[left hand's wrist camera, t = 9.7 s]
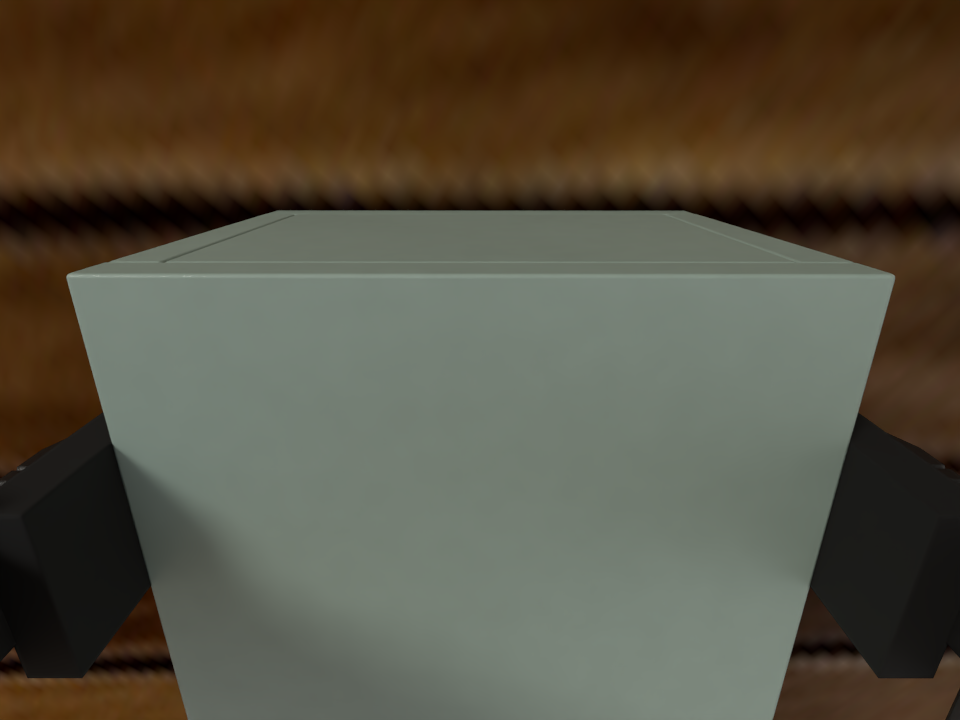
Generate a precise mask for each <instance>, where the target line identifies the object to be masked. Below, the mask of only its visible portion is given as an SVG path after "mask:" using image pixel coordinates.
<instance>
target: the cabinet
mask: <svg viewBox="0 0 960 720" xmlns="http://www.w3.org/2000/svg"><path fill="white" fill-rule="evenodd" d="M894 281H895V276H894V275H893V274H891V273H887V272H884V271H881V270H878V269H874V268H871V267H868V266H864V265H861V264H858V263H853V262H851V261H848V260H845V259H842V258H838V257H835V256H832V255H828V254H825V253H822V252H819V251H815V250H812V249H809V248H805V247H802V246H799V245H796V244H792V243H789V242H786V241H782V240H779V239H776V238H773V237H769V236H766V235H763V234H759V233H756V232H753V231H750V230H746V229H743V228H740V227H736V226H733V225H730V224H727V223H723V222H720V221H717V220H713V219H710V218H707V217H704V216H700V215H697V214H693V213H689V212H686V211H274V212H271V213H268V214H264V215H261V216H258V217H254V218H251V219H248V220H244V221H241V222H238V223H235V224H231V225H228V226H225V227H221V228H218V229H215V230H212V231H208V232H205V233H202V234H198V235H195V236H192V237H189V238H185V239H182V240H179V241H175V242H172V243H169V244H166V245H162V246H159V247H156V248H152V249H149V250H146V251H143V252H139V253H136V254H133V255H129V256H126V257H123V258H120V259H116V260H113V261H111V262H109V263H102V264H99V265H95V266H92V267H89V268H85V269H82V270H79V271H76V272H72V273H70V274H68V275H67V282H68V285H69V289H70V293H71V296H72V300H73V303H74V307H75V311H76V314H77V318H78V322H79V325H80V329H81V332H82V336H83V340H84V343H85V347H86V351H87V354H88V358H89V362H90V365H91V369H92V372H93V376H94V380H95V383H96V387H97V391H98V394H99V398H100V401H101V405H102V409H103V412H104V416H105V420H106V423H107V427H108V431H109V434H110V438H111V441H112V445H113V449H114V452H115V456H116V460H117V463H118V467H119V470H120V474H121V478H122V481H123V485H124V489H125V492H126V496H127V500H128V503H129V507H130V510H131V514H132V518H133V521H134V525H135V529H136V532H137V536H138V539H139V543H140V547H141V550H142V554H143V558H144V561H145V565H146V569H147V572H148V576H149V579H150V583H151V587H152V590H153V594H154V598H155V601H156V605H157V608H158V612H159V616H160V619H161V623H162V627H163V630H164V634H165V638H166V641H167V645H168V648H169V652H170V656H171V659H172V663H173V667H174V670H175V674H176V677H177V681H178V685H179V688H180V692H181V696H182V699H183V703H184V706H185V710H186V714H187V717H188V720H773V717H774V713H775V710H776V706H777V702H778V699H779V695H780V692H781V688H782V684H783V681H784V677H785V674H786V670H787V666H788V663H789V659H790V656H791V652H792V648H793V645H794V641H795V638H796V634H797V630H798V627H799V623H800V620H801V616H802V612H803V609H804V605H805V602H806V598H807V594H808V591H809V587H810V584H811V580H812V576H813V573H814V569H815V566H816V562H817V558H818V555H819V551H820V548H821V544H822V540H823V537H824V533H825V530H826V526H827V522H828V519H829V515H830V512H831V508H832V504H833V501H834V497H835V493H836V490H837V486H838V483H839V479H840V475H841V472H842V468H843V465H844V461H845V457H846V454H847V450H848V447H849V443H850V439H851V436H852V432H853V429H854V425H855V421H856V418H857V414H858V411H859V407H860V403H861V400H862V396H863V393H864V389H865V385H866V382H867V378H868V375H869V371H870V367H871V364H872V360H873V357H874V353H875V349H876V346H877V342H878V339H879V335H880V331H881V328H882V324H883V321H884V317H885V313H886V310H887V306H888V303H889V299H890V295H891V292H892V288H893V285H894Z"/></svg>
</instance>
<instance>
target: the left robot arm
mask: <svg viewBox="0 0 960 720" xmlns="http://www.w3.org/2000/svg"><path fill="white" fill-rule="evenodd" d="M150 586H151V583H150V579H149V576H148V572H147V569H146V565H145V561H144V558H143V554H142V550H141V547H140V543H139V539H138V536H137V532H136V529H135V525H134V521H133V518H132V514H131V510H130V507H129V503H128V500H127V496H126V492H125V489H124V485H123V481H122V478H121V474H120V470H119V467H118V463H117V460H116V456H115V452H114V449H113V445H112V441H111V438H110V434H109V431H108V427H107V423H106V420H105V416H104V412H103V413H101V414H100V415H99V416H97V417H96V418H94V419H93V420H92V421H90V422H89V423H87V424H86V425H85V426H83V427H82V428H80V429H79V430H78V431H76V432H75V433H73V434H72V435H71V436H69V437H68V438H67V439H64V440H62V441H60V442H58V443H56V444H53V445H51V446H49V447H47V448H45V449H42V450H41V451H39V452H38V453H37V454H35V455H34V456H32V457H31V458H29V459H28V460H27V461H25V462H24V463H22V464H21V465H19V466H18V467H17V471H11V472H9V473H8V474H7V475H5V476H4V477H2V478H1V479H0V661H1V660H2V659H3V658H4V657H5V656H6V655H7V654H8V653H9V652H10V651H11V649H12V648H13V647H15V650H16V652H17V654H18V657H19V659H20V661H21V664H22V666H23V668H24V671H25V673H26V675H27V678H83V676H84V675H85V674H86V672H87V671H88V670H89V668H90V667H91V666H92V664H93V663H94V661H95V660H96V659H97V657H98V656H99V655H100V653H101V652H102V651H103V649H104V648H105V647H106V645H107V644H108V643H109V641H110V640H111V639H112V637H113V636H114V635H115V633H116V632H117V631H118V629H119V628H120V626H121V625H122V624H123V622H124V621H125V620H126V618H127V617H128V616H129V614H130V613H131V612H132V610H133V609H134V608H135V606H136V605H137V604H138V602H139V601H140V600H141V598H142V597H143V595H144V594H145V593H146V591H147V590H148V589H149V587H150ZM810 587H811V588H812V589H813V591H814V592H815V593H816V595H817V596H818V597H819V599H820V600H821V601H822V603H823V604H824V605H825V607H826V608H827V609H828V611H829V612H830V613H831V615H832V616H833V618H834V619H835V620H836V622H837V623H838V624H839V626H840V627H841V628H842V630H843V631H844V632H845V634H846V635H847V636H848V638H849V639H850V640H851V642H852V643H853V644H854V646H855V647H856V648H857V650H858V651H859V653H860V654H861V655H862V657H863V658H864V659H865V661H866V662H867V663H868V665H869V666H870V667H871V669H872V670H873V671H874V673H875V674H876V675H877V677H878V678H934V675H935V673H936V671H937V668H938V666H939V664H940V661H941V659H942V657H943V654H944V652H945V649H946V647H947V645H949V647H950V648H951V649H952V650H953V651H954V652H955V653H956V654H957V655H958V656H959V657H960V476H959V475H958V474H957V473H955V472H954V471H952V470H951V469H945V465H944V464H942V463H941V462H939V461H938V460H936V459H935V458H934V457H932V456H931V455H929V454H928V453H926V452H925V451H924V450H922V449H921V448H919V447H917V446H915V445H912V444H910V443H908V442H906V441H903V440H901V439H899V438H897V437H895V436H892V435H890V434H888V433H886V432H884V431H883V430H882V429H880V428H879V427H877V426H876V425H875V424H873V423H872V422H870V421H869V420H868V419H866V418H865V417H863V416H862V415H861V414H859V413H858V414H857V418H856V421H855V425H854V429H853V432H852V436H851V439H850V443H849V447H848V450H847V454H846V457H845V461H844V465H843V468H842V472H841V475H840V479H839V483H838V486H837V490H836V493H835V497H834V501H833V504H832V508H831V512H830V515H829V519H828V522H827V526H826V530H825V533H824V537H823V540H822V544H821V548H820V551H819V555H818V558H817V562H816V566H815V569H814V573H813V576H812V580H811V584H810ZM946 720H960V689H959V691H958V693H957V696H956V698H955V700H954V702H953V704H952V707H951V709H950V711H949V713H948V715H947V717H946Z"/></svg>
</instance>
